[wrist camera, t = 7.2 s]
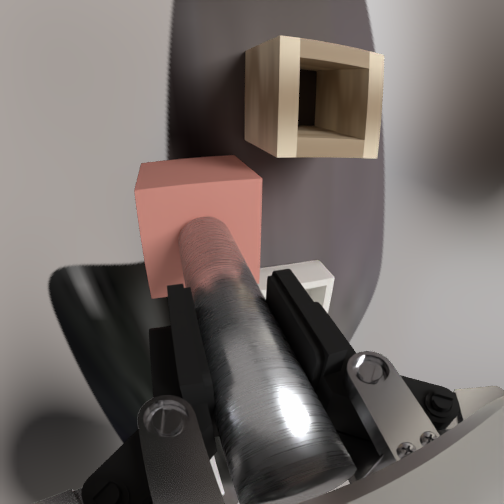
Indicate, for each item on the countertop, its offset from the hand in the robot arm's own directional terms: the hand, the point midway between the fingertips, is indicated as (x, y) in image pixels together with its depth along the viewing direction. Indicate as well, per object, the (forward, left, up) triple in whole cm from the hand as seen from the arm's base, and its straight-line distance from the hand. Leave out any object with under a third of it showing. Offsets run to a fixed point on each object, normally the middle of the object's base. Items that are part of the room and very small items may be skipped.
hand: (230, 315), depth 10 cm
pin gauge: (0, 0, -6) cm, 6 cm away
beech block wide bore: (-7, +7, -12) cm, 15 cm away
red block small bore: (0, 0, -12) cm, 12 cm away
